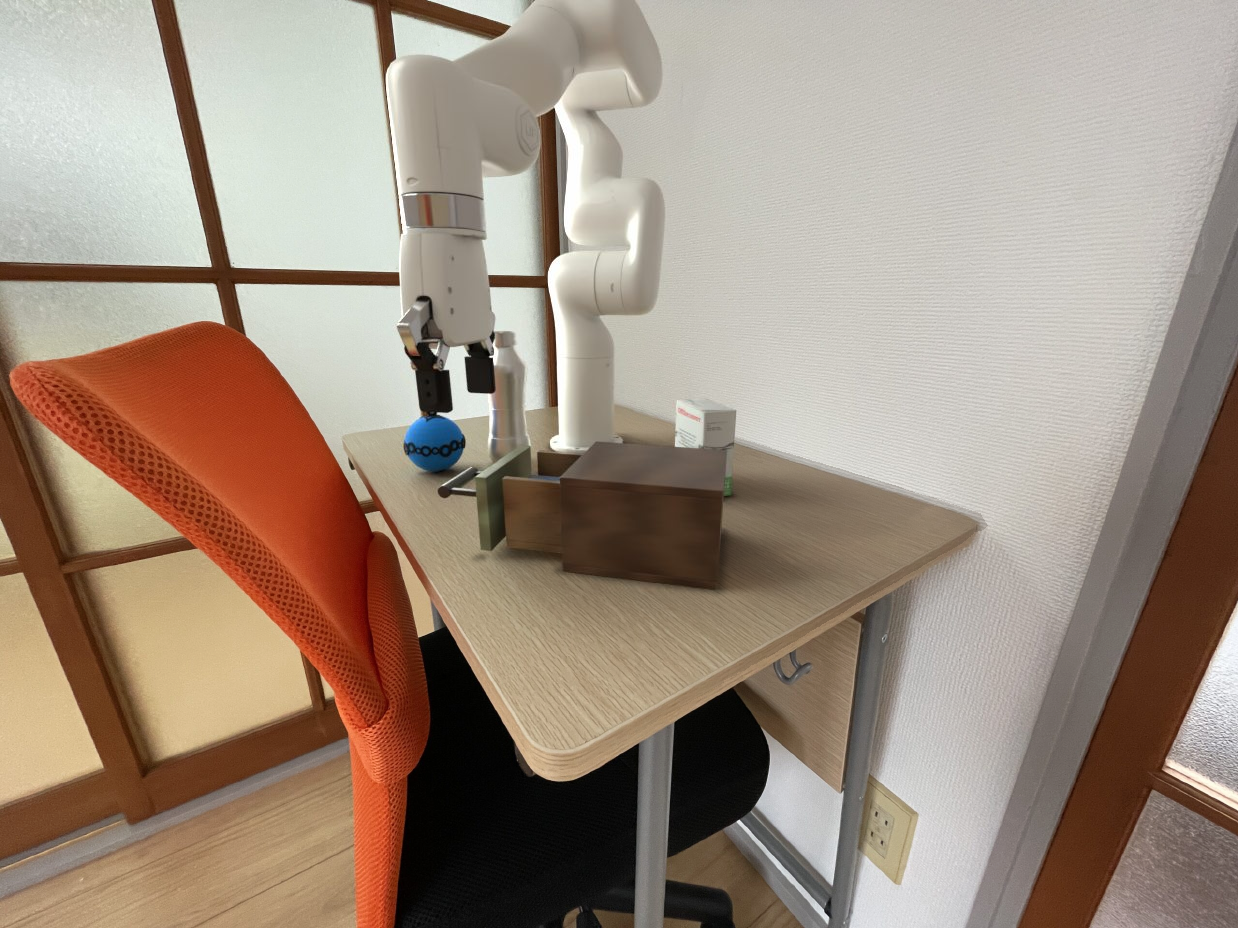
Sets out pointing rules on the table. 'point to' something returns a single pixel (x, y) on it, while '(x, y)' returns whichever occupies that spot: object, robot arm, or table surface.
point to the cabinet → (644, 513)
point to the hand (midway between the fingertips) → (461, 401)
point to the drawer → (517, 499)
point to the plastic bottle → (507, 398)
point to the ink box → (707, 429)
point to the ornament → (434, 442)
